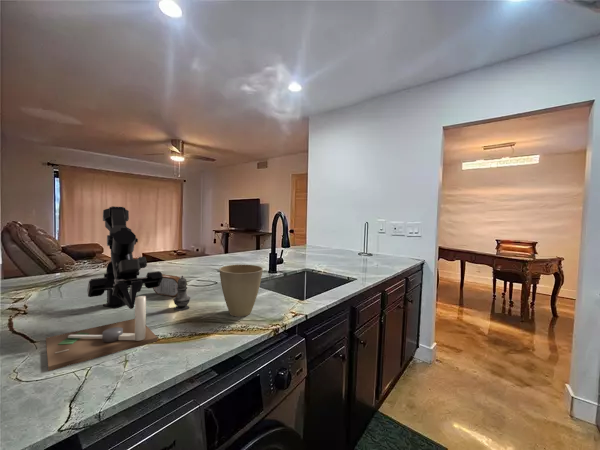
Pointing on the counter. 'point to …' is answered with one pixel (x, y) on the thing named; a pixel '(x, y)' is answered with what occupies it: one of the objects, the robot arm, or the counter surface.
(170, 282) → the tin
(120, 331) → the crank handle
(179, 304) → the salt shaker
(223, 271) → the plant pot
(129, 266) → the robot arm
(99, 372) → the counter surface
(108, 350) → the dial plate
